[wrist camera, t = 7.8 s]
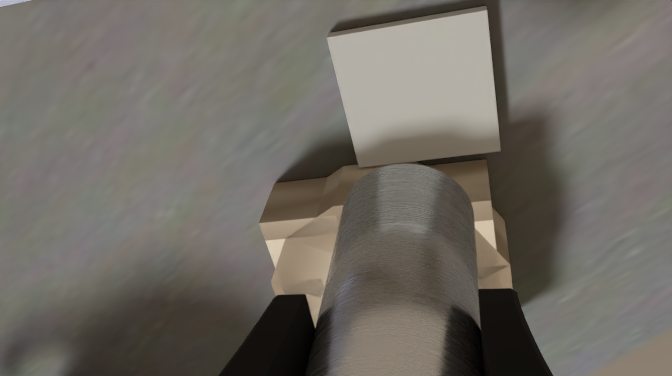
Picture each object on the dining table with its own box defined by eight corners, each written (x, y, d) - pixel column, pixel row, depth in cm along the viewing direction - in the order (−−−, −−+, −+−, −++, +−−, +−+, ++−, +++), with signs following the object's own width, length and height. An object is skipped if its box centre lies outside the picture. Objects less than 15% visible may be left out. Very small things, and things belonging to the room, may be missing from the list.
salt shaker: (344, 266, 17) (271, 637, 10) (336, 160, 15) (239, 523, 8) (471, 273, 17) (493, 668, 9) (480, 163, 15) (516, 555, 8)
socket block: (261, 175, 24) (244, 215, 22) (497, 147, 22) (502, 188, 20) (317, 333, 28) (307, 377, 26) (515, 323, 26) (521, 371, 24)
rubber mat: (328, 33, 20) (326, 37, 20) (486, 5, 19) (486, 10, 19) (360, 161, 23) (358, 167, 22) (500, 145, 22) (500, 151, 21)
